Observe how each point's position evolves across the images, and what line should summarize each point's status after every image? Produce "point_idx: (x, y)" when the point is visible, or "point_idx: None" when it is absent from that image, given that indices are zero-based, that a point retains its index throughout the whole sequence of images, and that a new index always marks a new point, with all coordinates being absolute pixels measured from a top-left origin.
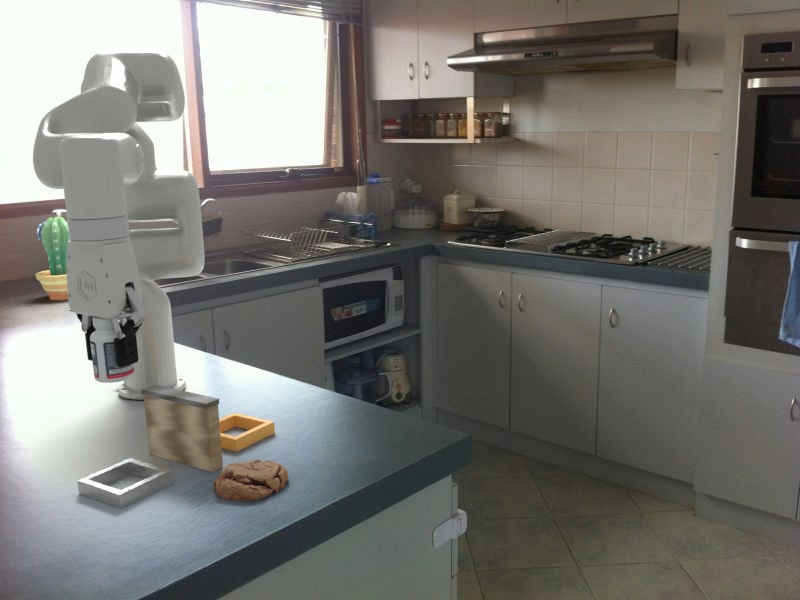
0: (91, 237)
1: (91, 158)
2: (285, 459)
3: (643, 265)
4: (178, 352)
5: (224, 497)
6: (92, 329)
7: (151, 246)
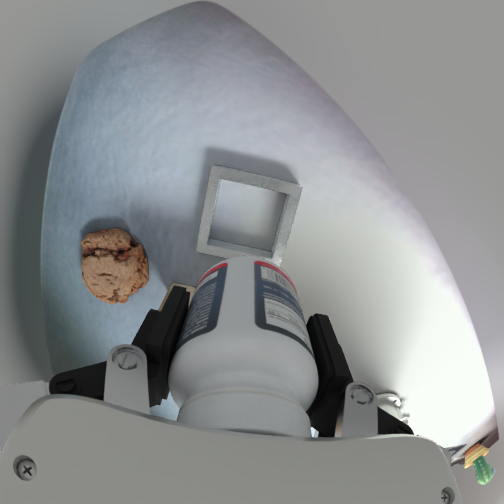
0: None
1: None
2: (127, 326)
3: None
4: None
5: (116, 228)
6: (328, 400)
7: None
